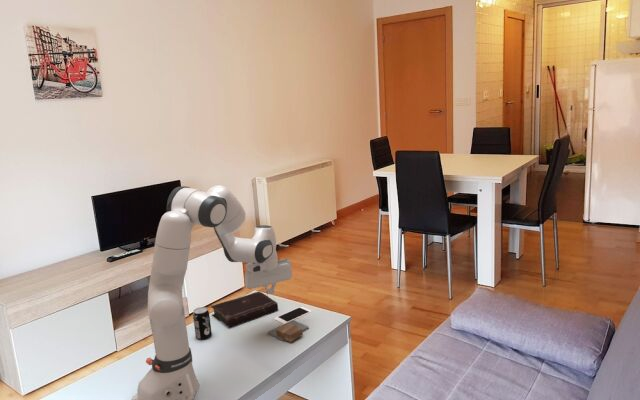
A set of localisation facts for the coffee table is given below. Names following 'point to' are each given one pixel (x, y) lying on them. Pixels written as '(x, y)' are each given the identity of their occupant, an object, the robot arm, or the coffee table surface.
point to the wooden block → (289, 332)
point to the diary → (244, 309)
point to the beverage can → (202, 323)
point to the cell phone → (292, 315)
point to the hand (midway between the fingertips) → (270, 293)
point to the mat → (293, 322)
